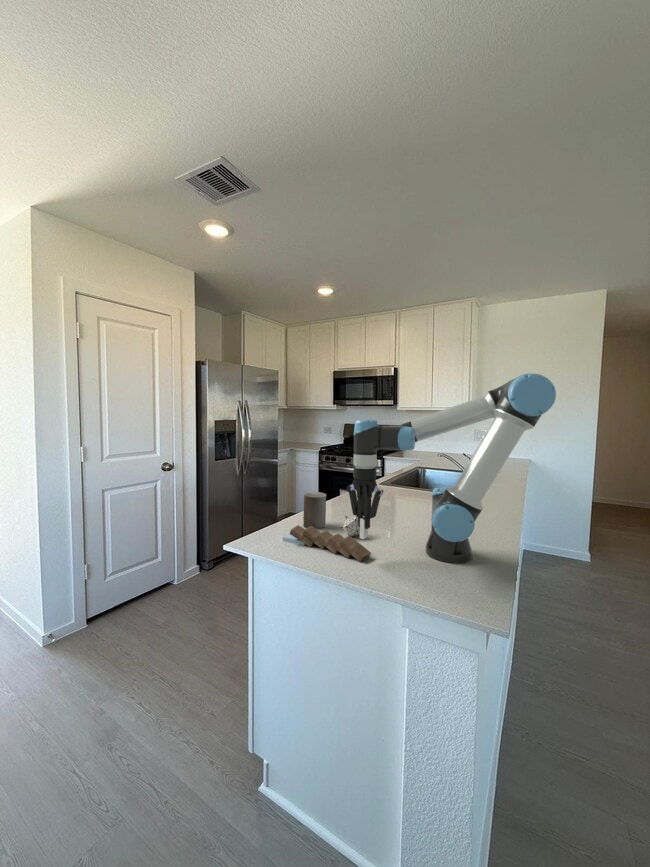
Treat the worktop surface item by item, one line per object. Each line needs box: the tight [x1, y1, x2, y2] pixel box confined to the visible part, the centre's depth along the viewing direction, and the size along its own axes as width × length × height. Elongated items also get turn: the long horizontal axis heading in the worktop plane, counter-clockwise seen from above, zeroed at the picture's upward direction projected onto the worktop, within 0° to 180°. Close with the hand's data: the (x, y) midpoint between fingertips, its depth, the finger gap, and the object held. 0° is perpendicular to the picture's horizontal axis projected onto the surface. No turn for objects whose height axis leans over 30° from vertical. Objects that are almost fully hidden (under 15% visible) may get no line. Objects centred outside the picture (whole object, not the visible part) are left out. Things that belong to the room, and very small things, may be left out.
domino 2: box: [289, 525, 316, 548], centre depth 133 cm, size 2×5×10 cm
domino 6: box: [339, 535, 372, 563], centre depth 121 cm, size 2×5×10 cm
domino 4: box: [316, 530, 341, 555], centre depth 128 cm, size 2×5×10 cm
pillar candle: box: [302, 491, 327, 530], centre depth 154 cm, size 10×10×15 cm
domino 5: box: [328, 532, 353, 559], centre depth 124 cm, size 2×5×10 cm
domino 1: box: [282, 533, 306, 546], centre depth 136 cm, size 2×5×10 cm
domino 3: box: [303, 526, 327, 550], centre depth 132 cm, size 2×5×10 cm
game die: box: [340, 515, 360, 537], centre depth 142 cm, size 9×8×10 cm
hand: (363, 537), depth 119 cm, fingers closed
